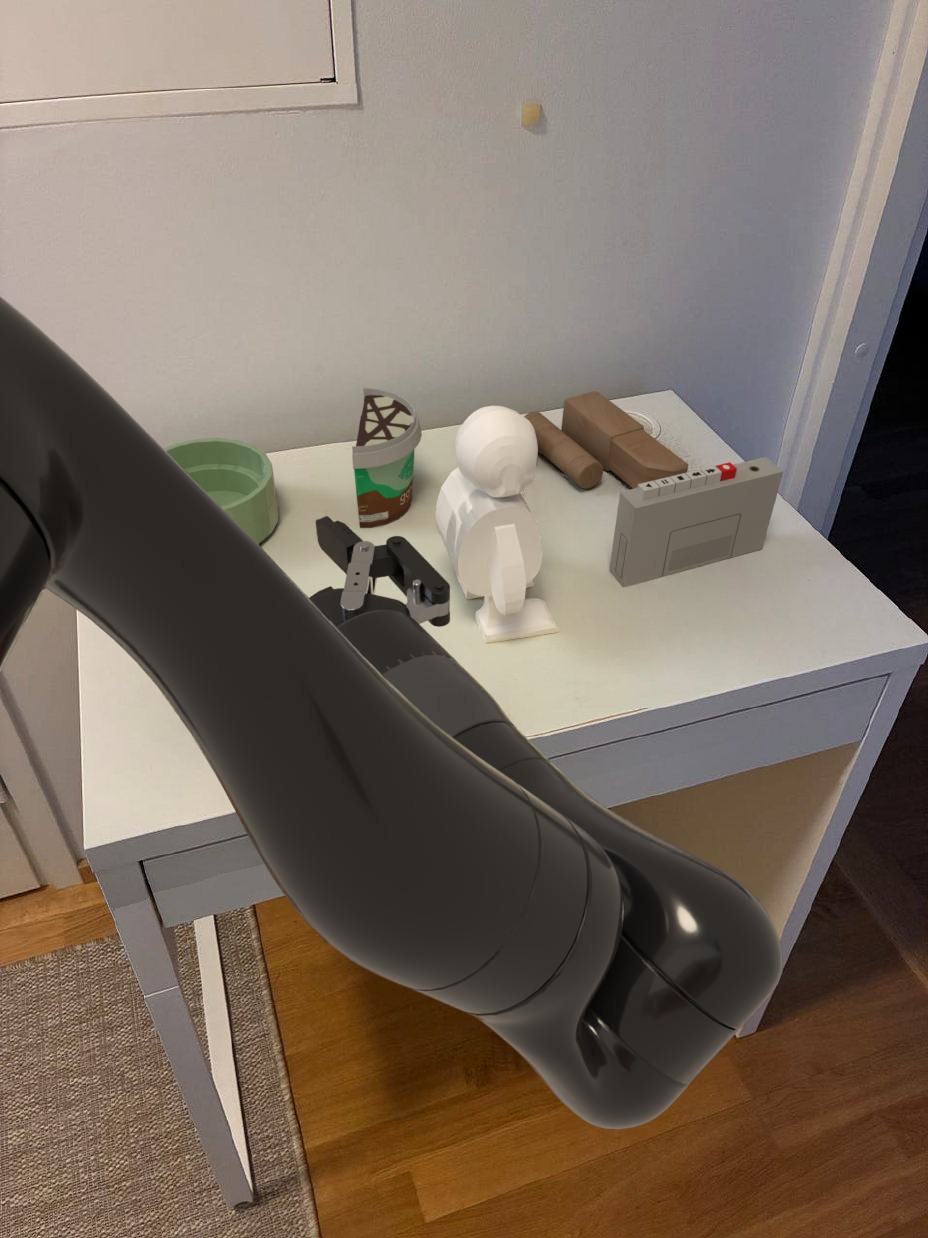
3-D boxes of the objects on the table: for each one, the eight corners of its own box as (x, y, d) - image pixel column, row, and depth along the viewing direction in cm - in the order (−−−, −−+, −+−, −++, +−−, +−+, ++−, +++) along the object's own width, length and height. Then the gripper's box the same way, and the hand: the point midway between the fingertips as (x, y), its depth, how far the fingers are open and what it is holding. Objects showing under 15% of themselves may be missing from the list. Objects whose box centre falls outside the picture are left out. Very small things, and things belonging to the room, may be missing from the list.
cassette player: (746, 533, 96) (767, 447, 90) (762, 549, 94) (785, 462, 88) (609, 570, 92) (621, 482, 85) (623, 587, 90) (637, 498, 83)
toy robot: (566, 646, 84) (587, 448, 70) (467, 665, 82) (470, 465, 68) (516, 551, 94) (527, 362, 80) (427, 567, 92) (423, 375, 78)
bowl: (161, 579, 90) (148, 528, 86) (133, 505, 99) (119, 455, 95) (296, 543, 94) (289, 492, 90) (257, 476, 103) (249, 426, 99)
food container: (420, 537, 95) (418, 450, 88) (358, 536, 95) (351, 449, 88) (425, 469, 104) (424, 386, 98) (369, 468, 104) (363, 385, 98)
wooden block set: (593, 377, 109) (695, 453, 97) (588, 421, 112) (685, 499, 101) (462, 412, 102) (554, 497, 91) (461, 458, 106) (549, 545, 94)
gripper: (526, 607, 47) (356, 462, 57) (266, 734, 41) (125, 546, 51) (520, 711, 52) (365, 561, 62) (286, 838, 46) (155, 649, 56)
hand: (257, 554), depth 56 cm, fingers open, 8 cm apart
